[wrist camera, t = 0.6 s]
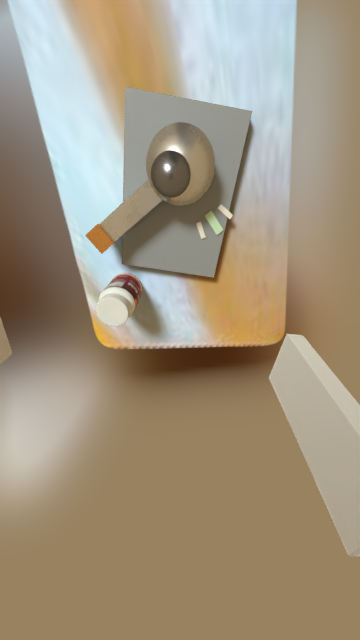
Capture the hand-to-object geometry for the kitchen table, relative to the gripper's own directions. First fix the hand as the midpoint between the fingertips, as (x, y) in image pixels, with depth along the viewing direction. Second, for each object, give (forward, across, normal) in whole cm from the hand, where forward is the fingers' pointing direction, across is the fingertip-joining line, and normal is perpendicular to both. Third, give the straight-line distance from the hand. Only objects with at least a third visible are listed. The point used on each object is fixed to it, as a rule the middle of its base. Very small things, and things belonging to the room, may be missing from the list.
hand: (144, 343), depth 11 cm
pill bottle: (+24, -6, -7) cm, 26 cm away
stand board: (+24, 0, +6) cm, 24 cm away
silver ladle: (+22, -3, +5) cm, 23 cm away
